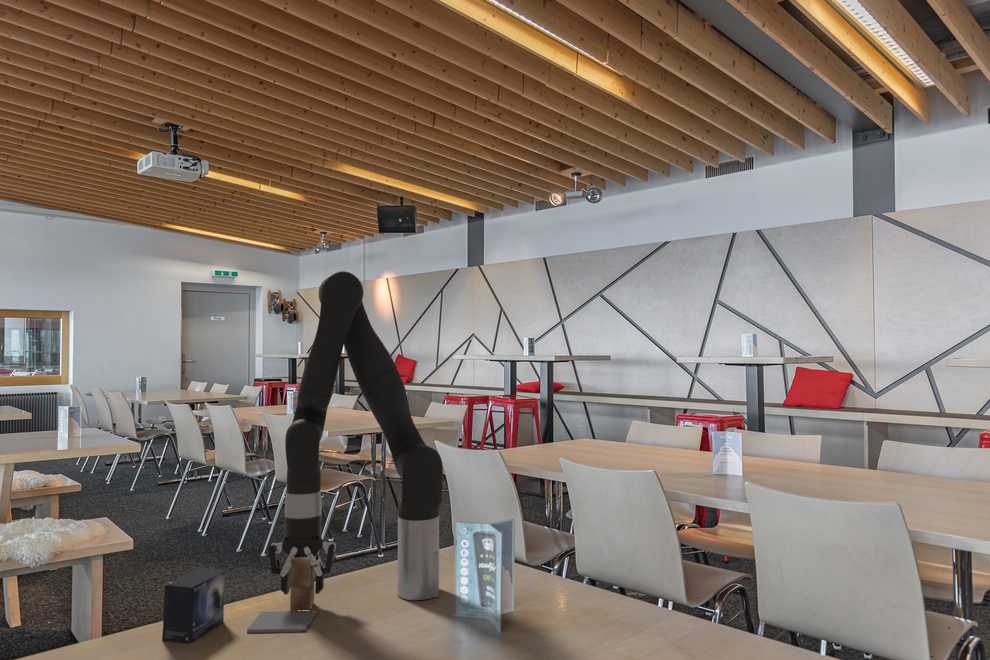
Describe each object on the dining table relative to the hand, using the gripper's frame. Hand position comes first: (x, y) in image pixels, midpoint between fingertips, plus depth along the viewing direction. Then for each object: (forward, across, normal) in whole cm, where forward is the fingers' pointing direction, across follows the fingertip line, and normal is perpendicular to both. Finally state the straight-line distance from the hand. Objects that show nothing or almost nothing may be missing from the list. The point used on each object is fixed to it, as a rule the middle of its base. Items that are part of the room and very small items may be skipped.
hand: (302, 592), depth 140 cm
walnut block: (+3, 0, 0) cm, 3 cm away
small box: (+3, +18, +11) cm, 21 cm away
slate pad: (+3, +2, +8) cm, 9 cm away
